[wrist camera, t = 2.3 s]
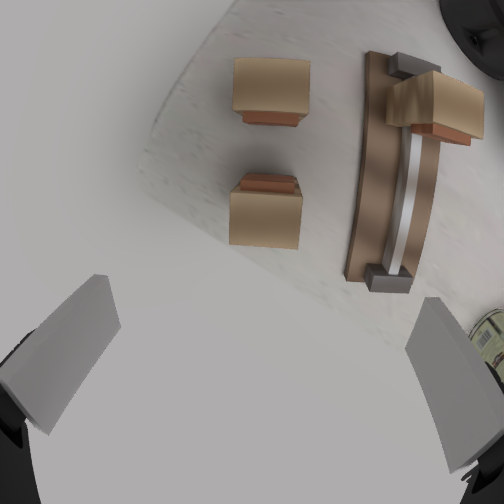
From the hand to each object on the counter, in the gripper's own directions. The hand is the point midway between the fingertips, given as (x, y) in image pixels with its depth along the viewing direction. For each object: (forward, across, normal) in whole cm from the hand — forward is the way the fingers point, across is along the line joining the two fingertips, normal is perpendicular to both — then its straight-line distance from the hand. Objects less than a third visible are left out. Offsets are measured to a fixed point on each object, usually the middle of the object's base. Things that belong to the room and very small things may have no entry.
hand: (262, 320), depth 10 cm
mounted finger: (+19, +14, +11) cm, 26 cm away
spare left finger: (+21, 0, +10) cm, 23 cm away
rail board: (+21, +14, +4) cm, 25 cm away
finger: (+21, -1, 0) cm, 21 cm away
